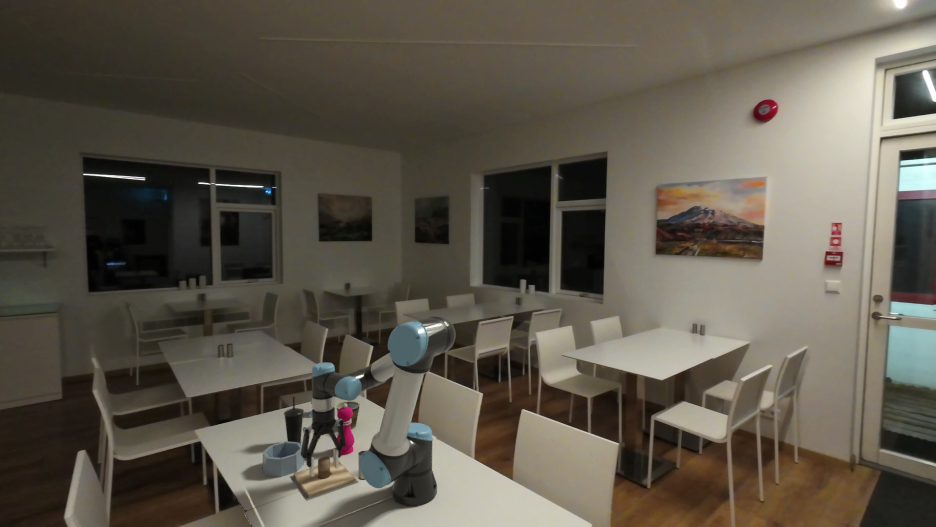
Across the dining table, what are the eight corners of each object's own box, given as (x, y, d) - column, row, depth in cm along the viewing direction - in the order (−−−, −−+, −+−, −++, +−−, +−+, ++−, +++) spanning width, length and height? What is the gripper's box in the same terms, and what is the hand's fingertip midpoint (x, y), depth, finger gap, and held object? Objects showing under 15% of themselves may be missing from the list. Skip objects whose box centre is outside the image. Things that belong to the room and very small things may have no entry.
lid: (354, 481, 157) (354, 462, 157) (308, 498, 147) (308, 476, 147) (337, 462, 170) (337, 444, 169) (293, 476, 160) (293, 457, 159)
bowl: (307, 470, 165) (307, 451, 165) (269, 482, 157) (269, 462, 157) (296, 456, 176) (295, 438, 175) (260, 466, 168) (259, 448, 167)
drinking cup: (307, 440, 189) (306, 393, 187) (298, 449, 181) (298, 400, 180) (290, 439, 189) (289, 392, 188) (280, 447, 182) (280, 399, 180)
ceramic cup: (335, 424, 205) (334, 402, 204) (357, 420, 209) (357, 399, 208) (339, 436, 193) (339, 413, 192) (363, 432, 197) (363, 410, 196)
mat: (358, 483, 157) (358, 482, 157) (306, 502, 146) (306, 500, 146) (338, 462, 171) (338, 461, 171) (290, 477, 160) (290, 476, 160)
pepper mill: (331, 454, 177) (331, 404, 176) (344, 446, 184) (344, 398, 182) (345, 458, 174) (345, 408, 173) (358, 450, 180) (358, 402, 179)
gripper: (347, 398, 166) (347, 457, 168) (289, 411, 153) (290, 475, 155) (356, 404, 160) (356, 466, 162) (296, 418, 147) (297, 485, 149)
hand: (324, 470), depth 158 cm, fingers open, 8 cm apart
